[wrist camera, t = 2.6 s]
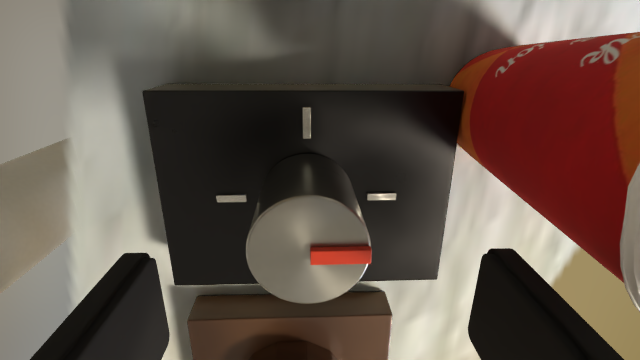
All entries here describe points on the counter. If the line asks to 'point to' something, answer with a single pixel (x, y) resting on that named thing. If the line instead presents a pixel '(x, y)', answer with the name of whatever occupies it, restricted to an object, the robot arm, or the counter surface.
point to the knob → (307, 232)
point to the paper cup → (565, 138)
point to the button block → (290, 328)
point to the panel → (292, 139)
